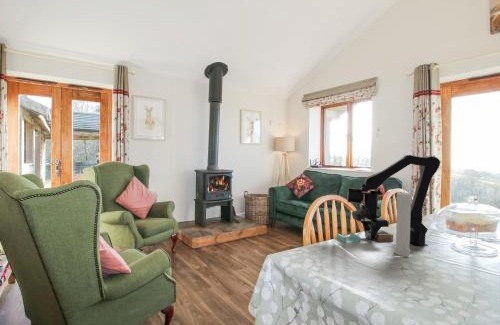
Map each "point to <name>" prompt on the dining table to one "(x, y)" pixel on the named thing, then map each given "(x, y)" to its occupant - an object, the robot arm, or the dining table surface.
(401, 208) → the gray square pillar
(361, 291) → the dining table surface
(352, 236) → the cradle
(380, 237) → the brown block
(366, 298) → the dining table surface
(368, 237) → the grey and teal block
